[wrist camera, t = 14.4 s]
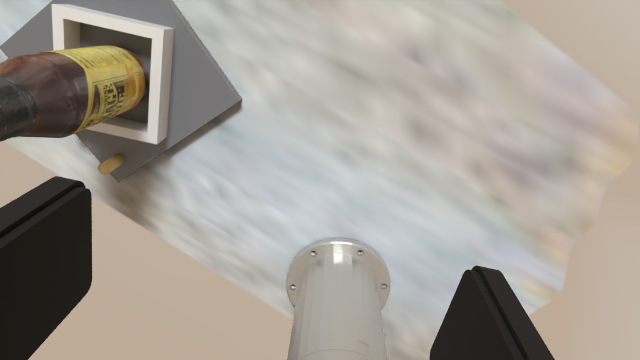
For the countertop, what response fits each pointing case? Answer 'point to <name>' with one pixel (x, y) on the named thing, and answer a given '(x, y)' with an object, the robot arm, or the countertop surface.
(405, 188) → the countertop surface
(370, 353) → the robot arm
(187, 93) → the locating plate
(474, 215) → the countertop surface
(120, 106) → the sauce bottle
